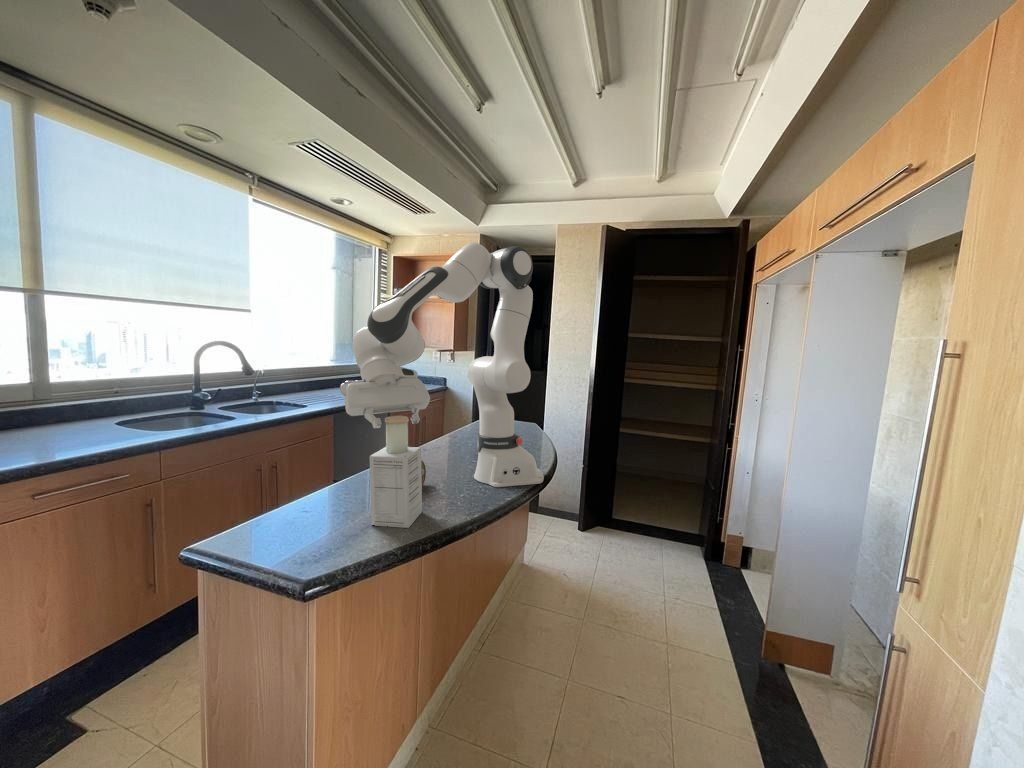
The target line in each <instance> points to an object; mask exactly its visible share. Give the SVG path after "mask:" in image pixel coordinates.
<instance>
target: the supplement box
mask: <svg viewBox="0 0 1024 768" xmlns="http://www.w3.org/2000/svg"><path fill="white" fill-rule="evenodd" d="M421 460H422V448H421V446H420V447H417V446H416V447H415V446H414V447H413V446H408V451H407V452H405V453H399V454H390V453H387V452H386V446H384V447H383V448H381V449H380V450H378V451H376V452H374V453H372V454H370V455H369V485H370V486H369V487H370V488H369V491H370V522H371V524H370V525H371V526H372V525H375V526H374V527H387V526H388V527H390V528H406V529H409V528H410V526H412V525H413V523H414V522H416V519H418V517H419V516H420V515H421V514H422V513H423V488H422V487H423V486H422V475H421Z"/></svg>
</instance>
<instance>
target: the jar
mask: <svg viewBox="0 0 1024 768" xmlns="http://www.w3.org/2000/svg"><path fill="white" fill-rule="evenodd" d="M409 418H410V417H409V416H407V415H391V416H387V417H385V418H384V422H385V447H386V452H387V453H390V454H399V453H405V452H407V451H408V447H409V421H410V420H409Z"/></svg>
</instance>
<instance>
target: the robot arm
mask: <svg viewBox="0 0 1024 768" xmlns="http://www.w3.org/2000/svg"><path fill="white" fill-rule="evenodd" d="M533 265H534V264H533V259H532V256H531V254H530V252H529V251H528V250H527V248H524V247H523V246H516V245H513V246H508V247H506V248H501V249H498V250H495V251H494V252H490V251H488V249H487V248H486V247H485V246H484V245H482V244H480V243H479V242H469V243H467V244H465V245H464V246H462V247H461V248H460V249H459V250H457V251H456V252H455V253H454V254H453V255H452V256H451V257H450V258H449V259H447V261H446V262H445V263H444V264H442V266H432V267H429V268H428V269H425V270H424V271H423V272H421V273H420V274H419V275H418V276H416V277H415V278H414V279H412V280H411V281H410V282H409V283H408V284H406V285H405V286H404V287H403V288H402V289H400V290H399V291H397V293H395V294H394V295H393V296H391V297H390V298H388V299H386V300H384V301H382V302H381V303H379V304H377V305H376V306H374V308H372V310H371V311H370V313H369V315H368V318H367V321H366V322H367V326H364V327H362V328H360V329H359V330H357V332H356V333H355V334H354V336H353V339H352V350H353V354H354V359H355V363H356V365H357V367H358V368H359V369H360V370H359V371H360V377H361V380H346V381H344V382H342V383H341V384H340V385H339V390H340V393H341V395H342V396H344V406H345V407H344V408H345V413H346V414H347V415H349V416H350V417H356V416H357V417H358V416H364V419H366V420H367V421H368V422H370V423H371V424H372V428H373V429H380V428H381V426H382V425H383V424H382V423H383V422H382V420H381V418H380V417H376V416H375V414H376V415H377V414H385V413H386V414H388V413H396V412H397V413H398V412H406V411H411V413H412V415H411V417H409V418H410V421H411V424H419V422H420V420H421V419H420V416H419V414H420V413H419V412H420V410H425V409H426V408H427V407H428V406H429V404H430V402H431V397H430V396H431V395H430V394H429V392H428V391H429V390H428V389H427V387H426V386H425V384H424V382H423V381H422V380H421V379H419V378H418V377H419V374H418V371H416V370H415V369H411V368H407V367H403V366H406V365H408V364H411V363H413V362H415V361H417V360H418V359H420V357H421V356H422V355H423V353H424V352H425V349H426V343H425V340H424V338H423V336H422V335H421V333H420V330H418V328H417V326H416V325H415V323H414V321H413V320H412V319H413V318H412V316H413V313H414V312H415V310H417V309H418V308H419V307H420V306H421V305H422V304H424V303H425V302H426V301H427V300H428V299H429V298H430V297H432V296H433V295H436V296H438V297H439V298H441V299H442V300H445V301H447V302H450V303H454V304H455V303H462V302H464V301H465V300H467V299H469V298H470V297H471V295H472V294H473V293H474V291H475V290H476V289H477V288H478V287H479V286H481V287H482V288H484V289H488V290H495V289H498V292H499V301H498V304H497V306H496V311H495V314H494V318H493V322H492V327H491V330H490V339H491V340H492V341H493V346H494V347H493V348H494V349H493V351H494V352H493V355H492V356H491V355H490V356H489V355H486V356H481V357H480V356H479V357H477V358H475V359H473V360H472V361H471V362H470V363H469V365H468V366H467V367H468V368H467V378H468V380H469V381H470V382H471V384H472V386H473V390H474V392H475V396H476V399H477V400H476V401H477V406H478V411H479V412H478V413H479V414H478V415H479V416H478V417H479V433H478V435H477V450H478V454H477V455H478V456H477V463H476V468H475V472H474V474H473V478H474V479H475V480H476V481H477V482H480V483H483V484H487V485H490V486H492V487H494V488H502V487H503V488H504V487H514V486H516V487H517V486H527V485H537V484H542V483H543V482H544V479H545V477H544V474H543V472H542V470H540V469H539V468H538V467H537V462H536V459H535V457H534V456H533V454H531V453H530V452H528V451H527V450H526V449H525V448H524V447H522V446H521V445H522V444H523V442H524V441H523V438H522V437H520V436H519V435H518V434H517V433H515V411H514V407H513V406H512V405H511V403H510V402H509V400H508V395H507V394H514V393H520V392H523V391H525V389H527V388H528V386H529V384H530V381H531V376H532V375H531V369H530V367H529V365H528V363H527V362H526V359H525V341H526V335H527V332H528V326H529V324H530V323H529V322H530V319H531V314H532V310H533V301H534V298H533V297H534V296H533V295H534V293H533V290H532V288H531V287H530V286H529V285H530V283H531V281H532V274H533V269H534V266H533Z"/></svg>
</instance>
